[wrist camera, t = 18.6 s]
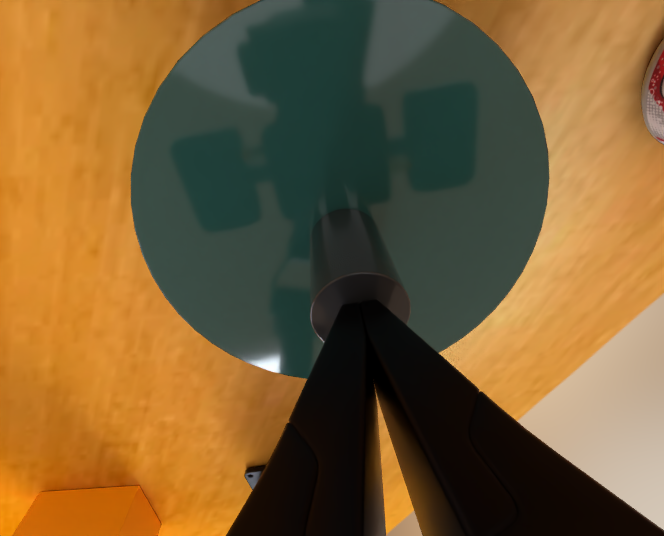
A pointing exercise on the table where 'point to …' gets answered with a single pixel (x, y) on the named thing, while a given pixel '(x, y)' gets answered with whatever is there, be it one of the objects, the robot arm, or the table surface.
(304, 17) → the lid
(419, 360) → the robot arm
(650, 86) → the soda can
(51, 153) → the table surface
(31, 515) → the orange juice
